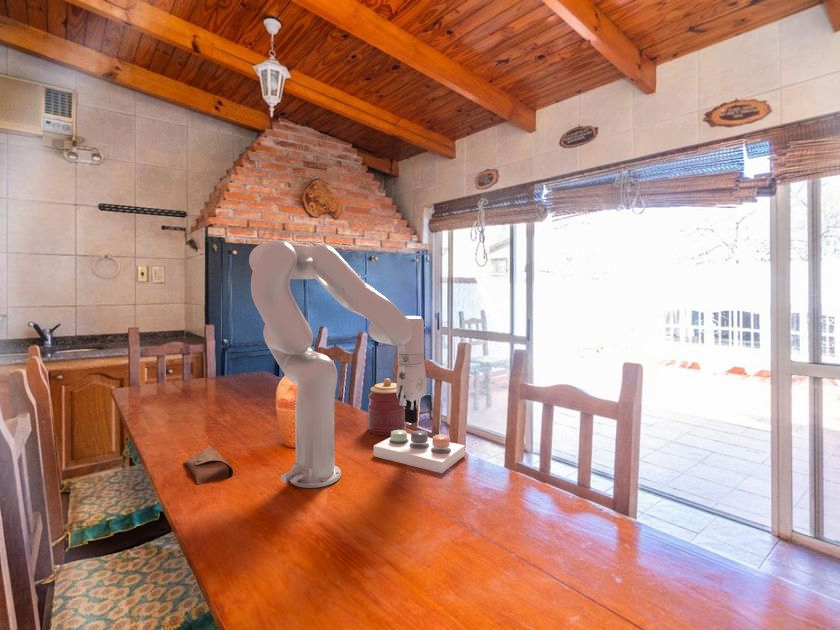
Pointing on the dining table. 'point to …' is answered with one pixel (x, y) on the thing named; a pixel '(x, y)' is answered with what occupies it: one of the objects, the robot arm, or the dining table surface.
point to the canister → (385, 409)
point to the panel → (420, 454)
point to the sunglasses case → (209, 466)
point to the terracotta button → (441, 441)
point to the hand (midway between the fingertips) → (410, 421)
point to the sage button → (398, 436)
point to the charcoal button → (419, 436)
